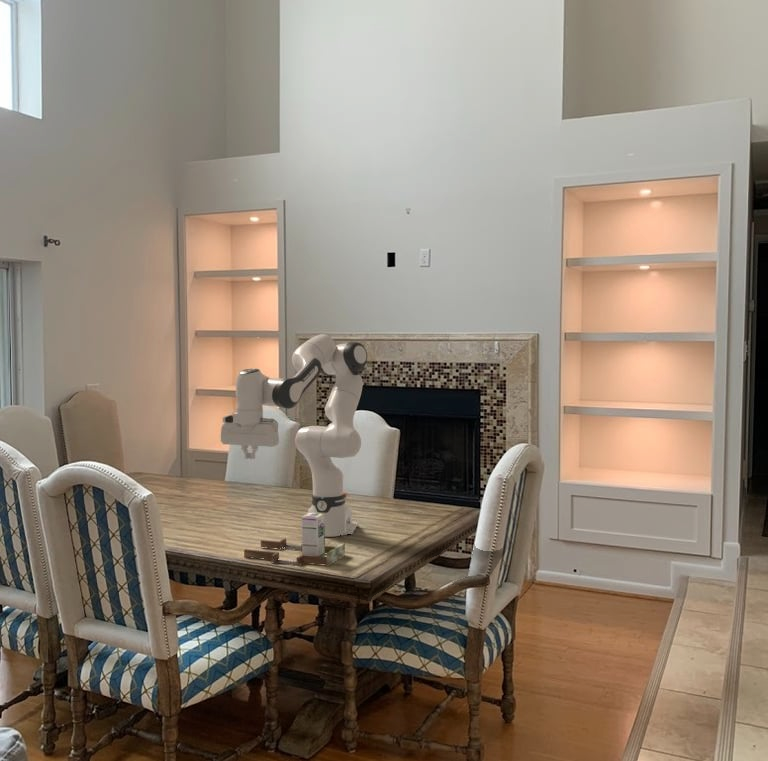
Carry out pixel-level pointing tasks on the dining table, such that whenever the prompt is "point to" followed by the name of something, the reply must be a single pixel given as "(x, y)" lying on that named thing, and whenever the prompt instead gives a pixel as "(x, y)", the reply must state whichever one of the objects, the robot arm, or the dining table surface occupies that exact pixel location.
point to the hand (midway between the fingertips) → (250, 458)
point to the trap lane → (331, 551)
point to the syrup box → (313, 534)
